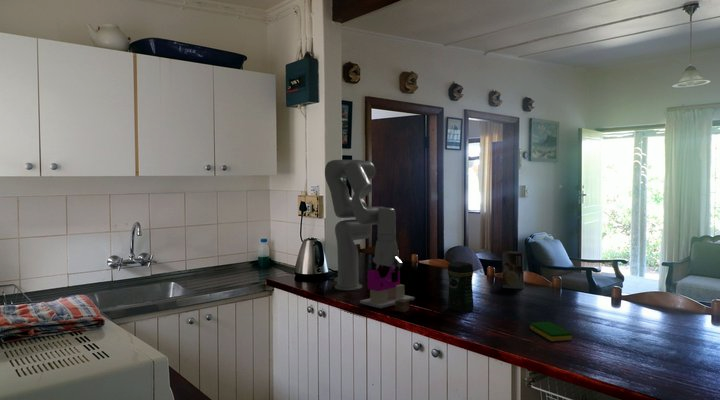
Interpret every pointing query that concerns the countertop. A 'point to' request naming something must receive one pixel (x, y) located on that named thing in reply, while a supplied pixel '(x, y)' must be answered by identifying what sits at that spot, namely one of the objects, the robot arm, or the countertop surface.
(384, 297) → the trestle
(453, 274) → the coffee jar
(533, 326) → the dish sponge
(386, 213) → the robot arm
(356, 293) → the countertop surface
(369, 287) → the toy block
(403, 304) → the cube
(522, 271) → the coffee box
